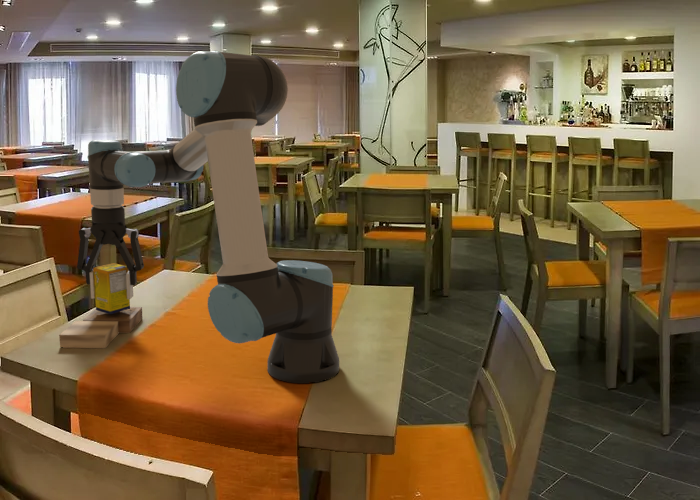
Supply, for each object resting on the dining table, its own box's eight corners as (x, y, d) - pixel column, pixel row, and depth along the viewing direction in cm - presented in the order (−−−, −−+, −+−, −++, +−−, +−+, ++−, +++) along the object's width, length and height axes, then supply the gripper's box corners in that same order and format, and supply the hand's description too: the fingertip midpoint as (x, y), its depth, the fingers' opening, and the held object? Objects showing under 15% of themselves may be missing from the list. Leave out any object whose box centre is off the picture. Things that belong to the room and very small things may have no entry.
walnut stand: (129, 332, 161) (129, 320, 161) (83, 332, 161) (82, 320, 160) (142, 318, 172) (141, 307, 172) (99, 317, 172) (98, 306, 171)
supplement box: (115, 304, 170) (113, 262, 167) (130, 309, 166) (128, 266, 164) (95, 310, 165) (92, 267, 163) (110, 314, 162) (107, 270, 159)
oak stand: (105, 348, 151) (104, 335, 151) (60, 347, 151) (59, 334, 150) (118, 333, 161) (118, 321, 160) (76, 332, 161) (75, 320, 160)
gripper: (155, 204, 164) (158, 293, 169) (69, 202, 164) (75, 292, 169) (147, 209, 157) (151, 302, 162) (57, 207, 156) (63, 300, 161)
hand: (112, 297), depth 165 cm, fingers closed on supplement box, 8 cm apart
